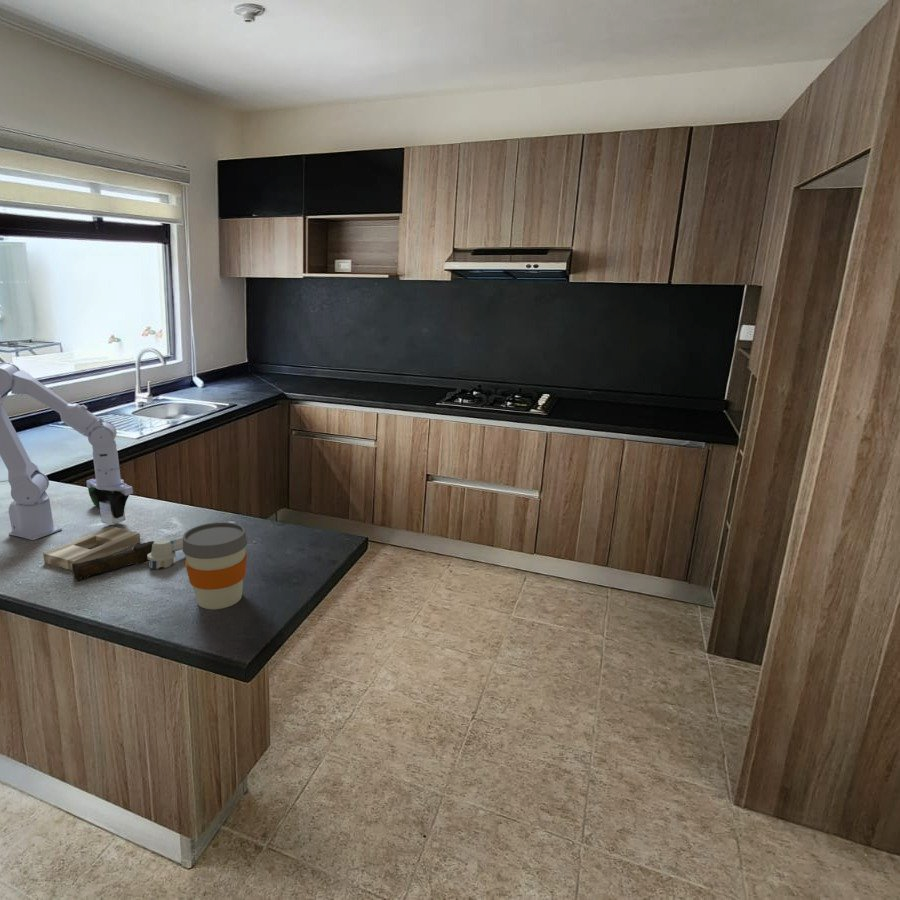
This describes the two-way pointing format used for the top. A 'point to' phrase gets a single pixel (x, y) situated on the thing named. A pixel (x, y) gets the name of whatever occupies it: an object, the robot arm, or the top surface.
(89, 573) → the dark brown wood piece
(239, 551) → the reusable coffee cup
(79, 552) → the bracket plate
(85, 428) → the robot arm
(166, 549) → the white elongated piece
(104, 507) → the pale grey block
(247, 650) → the top surface
